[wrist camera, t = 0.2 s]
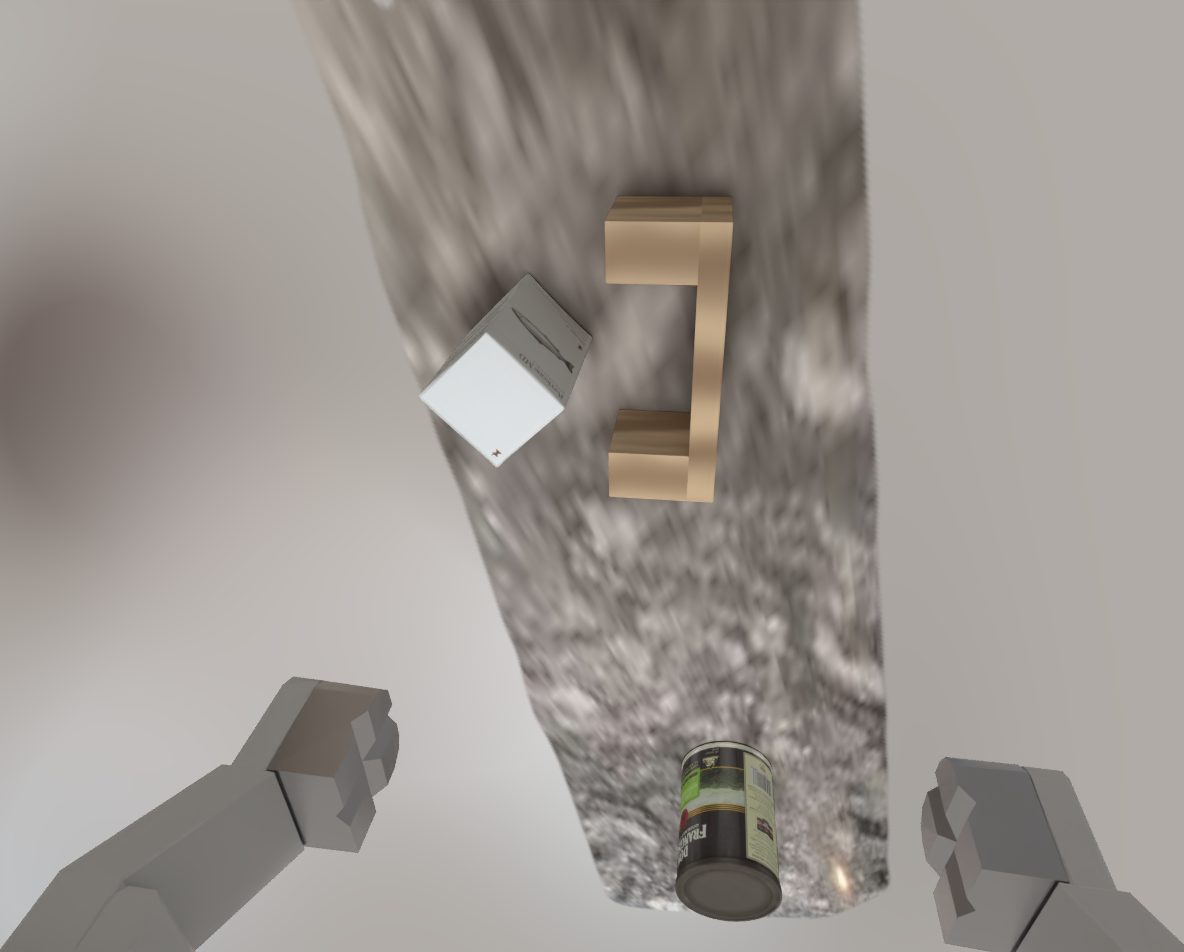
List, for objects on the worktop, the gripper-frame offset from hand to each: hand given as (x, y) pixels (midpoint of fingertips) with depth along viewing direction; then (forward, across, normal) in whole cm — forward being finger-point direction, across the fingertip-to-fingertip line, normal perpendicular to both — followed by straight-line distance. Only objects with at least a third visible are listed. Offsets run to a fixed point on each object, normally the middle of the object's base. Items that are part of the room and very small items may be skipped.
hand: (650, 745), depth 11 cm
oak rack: (+48, +2, +14) cm, 50 cm away
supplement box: (+48, +13, +14) cm, 52 cm away
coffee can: (+47, -7, +66) cm, 81 cm away
